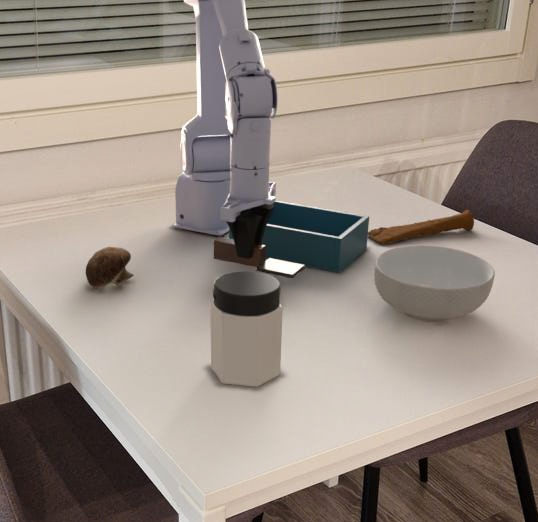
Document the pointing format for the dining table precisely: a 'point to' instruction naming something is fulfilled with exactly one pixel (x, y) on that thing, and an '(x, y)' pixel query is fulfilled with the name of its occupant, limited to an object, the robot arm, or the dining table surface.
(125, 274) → the mushroom
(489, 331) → the dining table surface
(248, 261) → the scraper
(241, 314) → the jar
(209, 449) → the dining table surface
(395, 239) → the primitive tool
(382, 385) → the dining table surface
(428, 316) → the cereal bowl
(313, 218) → the bin
